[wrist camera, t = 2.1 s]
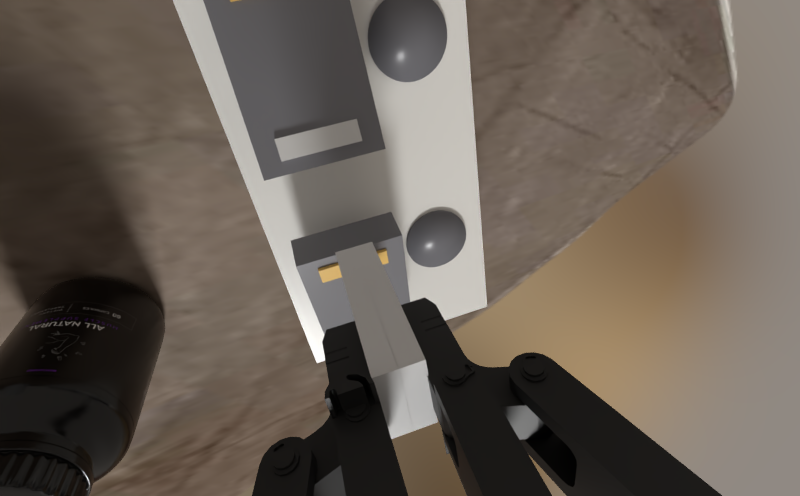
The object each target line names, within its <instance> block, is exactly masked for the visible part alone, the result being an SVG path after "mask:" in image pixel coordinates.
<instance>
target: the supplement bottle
mask: <svg viewBox="0 0 800 496" xmlns="http://www.w3.org/2000/svg"><path fill="white" fill-rule="evenodd" d="M164 333H165V322H164V318H163V315H162V312H161V310H160V309H159V307H158V306H157V304H156V303H155V302H154V301H153V300H152V299H151V298H150V297H149V296H148V295H147V294H146V293H144V292H143V291H141V290H140V289H138V288H136V287H134V286H132V285H130V284H127V283H125V282H121V281H118V280H114V279H108V278H99V277H89V278H79V279H74V280H70V281H66V282H63V283H61V284H58V285H56V286H54V287H52V288H51V289H49V290H48V291H46V292H45V293H44V294H42V295H41V296H40V297H39V298H38V299H37V300H36V302H35V303H34V304H33V305H32V306H31V308H30V309H29V310H28V311H27V313H26V314H25V315H24V316H23V318H22V319H21V320H20V322H19V323H18V324H17V325H16V327H15V328H14V329H13V331H12V332H11V333H10V334H9V336H8V337H7V338H6V340H5V341H4V342H3V343H2V345H1V346H0V496H89V494H90V491H91V488H92V485H93V483H94V482H96V481H98V480H99V479H101V478H102V477H104V476H105V475H106V474H108V473H109V472H110V471H111V470H112V469H113V468H114V467H115V466H116V465H117V464H118V463H119V462H120V461H121V460H122V458H123V457H124V456H125V454H126V452H127V451H128V449H129V446H130V444H131V441H132V438H133V435H134V432H135V429H136V426H137V423H138V419H139V416H140V413H141V410H142V407H143V403H144V400H145V397H146V394H147V391H148V387H149V384H150V381H151V378H152V374H153V371H154V368H155V365H156V362H157V358H158V355H159V352H160V349H161V345H162V342H163V338H164Z"/></svg>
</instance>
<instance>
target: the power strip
mask: <svg viewBox="0 0 800 496" xmlns="http://www.w3.org/2000/svg"><path fill="white" fill-rule="evenodd" d="M173 2H174V4H175V7H176V10H177V12H178V15H179V17H180V20H181V22H182V25H183V27H184V30H185V32H186V35H187V37H188V40H189V42H190V45H191V47H192V50H193V52H194V55H195V57H196V60H197V62H198V65H199V67H200V70H201V72H202V75H203V77H204V80H205V83H206V85H207V88H208V90H209V93H210V95H211V98H212V100H213V103H214V105H215V108H216V110H217V113H218V115H219V118H220V120H221V123H222V125H223V128H224V130H225V133H226V135H227V138H228V140H229V143H230V145H231V148H232V150H233V153H234V156H235V158H236V161H237V163H238V166H239V168H240V171H241V173H242V176H243V178H244V181H245V183H246V186H247V188H248V191H249V193H250V196H251V198H252V201H253V203H254V206H255V208H256V211H257V213H258V216H259V218H260V221H261V223H262V226H263V229H264V231H265V234H266V236H267V239H268V241H269V244H270V246H271V249H272V251H273V254H274V256H275V259H276V261H277V264H278V266H279V269H280V271H281V274H282V276H283V279H284V281H285V284H286V286H287V289H288V291H289V294H290V296H291V299H292V302H293V304H294V307H295V309H296V312H297V314H298V317H299V319H300V322H301V324H302V327H303V329H304V332H305V334H306V337H307V339H308V342H309V344H310V347H311V349H312V352H313V354H314V357H315V359H316V362H317V363H319V362H322V361H325V355H324V350H323V344H322V341H323V338H324V333H323V330H322V328H321V325H320V323H319V321H318V318H317V316H316V313H315V311H314V309H313V306H312V304H311V301H310V299H309V297H308V294H307V292H306V290H305V287H304V285H303V282H302V280H301V278H300V275H299V273H298V270H297V268H296V265H295V260H294V255H293V250H292V245H291V240H294V239H298V238H301V237H305V236H308V235H312V234H315V233H318V232H322V231H325V230H329V229H332V228H336V227H339V226H343V225H346V224H350V223H353V222H357V221H360V220H364V219H367V218H371V217H374V216H378V215H381V214H385V213H388V212H392V215H393V217H394V219H395V221H396V223H397V225H398V227H399V229H400V232H401V234H402V237H403V246H404V254H405V262H406V271H407V279H408V287H409V296H410V302H412V301H415V300H418V299H421V298H427V299H428V300H430V301H431V302H433V303H434V304H436V306H437V308H438V309H439V311H440V313H441V315H442V317H443V318H444V320H448V319H451V318H454V317H457V316H460V315H463V314H466V313H469V312H472V311H475V310H478V309H481V308H484V307H487V298H486V284H485V270H484V256H483V242H482V228H481V213H480V199H479V185H478V171H477V157H476V143H475V129H474V115H473V101H472V87H471V73H470V59H469V44H468V30H467V16H466V2H465V0H350V3H351V7H352V11H353V16H354V20H355V24H356V28H357V32H358V36H359V40H360V45H361V49H362V53H363V57H364V61H365V65H366V69H367V74H368V78H369V82H370V86H371V90H372V94H373V98H374V102H375V107H376V111H377V115H378V119H379V123H380V127H381V131H382V136H383V140H384V144H385V148H386V149H383V150H379V151H376V152H372V153H368V154H364V155H360V156H357V157H353V158H349V159H345V160H341V161H338V162H334V163H330V164H326V165H322V166H319V167H315V168H311V169H307V170H303V171H300V172H296V173H292V174H288V175H284V176H280V177H277V178H273V179H269V180H265V181H264V179H263V176H262V173H261V170H260V167H259V164H258V161H257V158H256V155H255V152H254V149H253V146H252V143H251V140H250V137H249V134H248V131H247V128H246V126H245V123H244V120H243V117H242V114H241V111H240V108H239V105H238V102H237V99H236V96H235V93H234V90H233V87H232V84H231V81H230V78H229V75H228V72H227V69H226V66H225V63H224V60H223V57H222V54H221V51H220V49H219V46H218V43H217V40H216V37H215V34H214V31H213V28H212V25H211V22H210V19H209V16H208V13H207V10H206V7H205V4H204V1H203V0H173Z"/></svg>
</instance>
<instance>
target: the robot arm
mask: <svg viewBox="0 0 800 496" xmlns="http://www.w3.org/2000/svg"><path fill="white" fill-rule="evenodd" d="M335 254H336V257H337V261H338V264H339V268H340V271H341V275H342V278H343V282H344V285H345V289H346V292H347V296H348V299H349V302H350V306H351V309H352V313H353V316H354V320H355V321H352V322H349V323H346V324H343V325H340V326H337V327H333V328H330V329H327V330H326V332H325V335H324V338H323V341H322V344H323V350H324V355H325V361H326V365H327V366H326V367H327V372H328V378H329V385H328V387H327V389H326V391H325V401H326V404H327V406H328V409H329V411H330V416H329V418H328V420H327V421H326V422H325V423H324V425H323V426H322V427H320V428H319V429H318V430H317V431H316V432H314V433H313V434H311V435H310V436H308V437H307V438H306V439H304V440H303V439H302V438H300V437H288V438H285V439H282V440H279V441H278V442H277V443H275V444H274V445H272V446H271V447H270V448H269V449H268V451H267V452H266V453H265V454H264V456H263V458H262V460H261V463H260V465H259V469H258V473H257V477H256V481H255V486H254V490H253V494H252V496H408V493H407V490H406V487H405V484H404V480H403V477H402V473H401V470H400V466H399V463H398V460H397V457H396V453H395V450H394V447H393V443H392V440H391V439H393V438H396V437H398V436H401V435H404V434H407V433H409V432H412V431H415V430H418V429H420V428H423V427H425V426H428V425H431V424H434V423H437V422H438V421H437V418H438V420H439V422H440V425H441V427H442V432H443V437H444V443H445V448H446V453H447V454H449V453H450V455H451V458H452V460H453V462H454V465H455V468H456V470H457V472H458V475H459V477H460V479H461V482H462V485H463V487H464V489H465V492H466V494H467V496H552V495H551V493H550V491H549V490H548V488H547V486H546V484H545V483H544V481H543V479H542V478H541V476H540V474H539V472H538V471H537V469H536V467H535V466H534V464H533V462H532V460H531V459H530V457H529V455H530V456H531V457H532V458H533V460H534V461H535V462H536V463H537V464H538V465H539V466H540V467H541V468H542V469H543V470H544V471H545V473H546V474H547V475H548V476H549V477H550V478H551V479H552V480H553V481H554V482H555V483H556V484H557V486H558V487H559V488H560V489H561V490H562V491H563V492H564V493H565V494H566V495H567V496H722V495H721V494H719V493H718V492H717V491H716V490H714V489H713V488H712V487H711V486H709V485H708V484H707V483H706V482H704V481H703V480H702V479H701V478H699V477H698V476H697V475H696V474H694V473H693V472H692V471H691V470H689V469H688V468H687V467H686V466H684V465H683V464H682V463H681V462H679V461H678V460H677V459H676V458H674V457H673V456H672V455H671V454H669V453H668V452H667V451H666V450H664V449H663V448H662V447H661V446H659V445H658V444H657V443H656V442H654V441H653V440H652V439H651V438H649V437H648V436H647V435H646V434H644V433H643V432H642V431H641V430H639V429H638V428H637V427H636V426H634V425H633V424H632V423H631V422H629V421H628V420H627V419H626V418H624V417H623V416H622V415H621V414H620V413H618V412H617V411H616V410H615V409H613V408H612V407H611V406H610V405H608V404H607V403H606V402H605V401H603V400H602V399H601V398H600V397H598V396H597V395H596V394H595V393H593V392H592V391H591V390H590V389H588V388H587V387H586V386H584V385H583V384H582V383H581V382H580V381H578V380H577V379H576V378H574V377H573V376H572V375H571V374H570V373H568V372H567V371H566V370H565V369H563V368H562V367H561V366H560V365H558V364H557V363H556V362H555V361H553V360H552V359H550V358H549V357H546V356H545V355H543V354H539V353H524V354H521V355H519V356H516V357H515V358H514V359H513V360H512V361H511V363H510V366H509V367H495V368H492V367H483V366H479V365H477V364H474V363H473V362H471V361H470V360H468V359H467V357H466V356H465V355H464V353H463V352H462V350H461V348H460V346H459V345H458V343H457V341H456V339H455V338H454V336H453V334H452V332H451V330H450V329H449V327H448V325H447V324H446V322H445V320H444V318H443V317H442V315H441V313H440V311H439V309H438V308H437V306H436V304H434V303H433V302H431V301H430V300H428V299H427V298H421V299H418V300H415V301H412V302H409V303H406V304H403V305H401V304H400V302H399V300H398V298H397V295H396V293H395V291H394V289H393V287H392V284H391V282H390V280H389V278H388V276H387V273H386V271H385V269H384V267H383V265H382V262H381V260H380V258H379V256H378V254H377V251H376V249H375V247H374V245H373V243H372V242H369V243H366V244H362V245H359V246H355V247H352V248H349V249H345V250H342V251H338V252H335ZM528 454H529V455H528Z"/></svg>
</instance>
